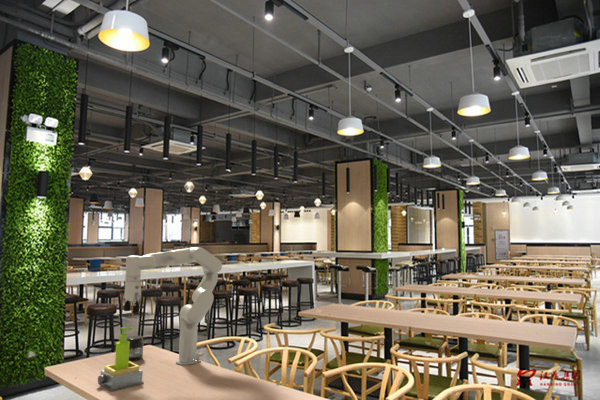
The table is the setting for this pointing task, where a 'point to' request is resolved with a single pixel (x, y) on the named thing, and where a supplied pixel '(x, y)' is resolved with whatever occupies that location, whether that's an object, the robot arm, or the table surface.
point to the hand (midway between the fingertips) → (131, 311)
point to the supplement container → (135, 347)
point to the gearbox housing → (120, 377)
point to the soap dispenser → (122, 350)
